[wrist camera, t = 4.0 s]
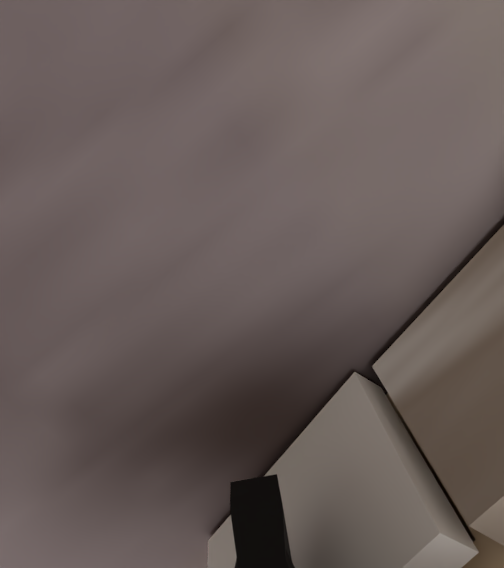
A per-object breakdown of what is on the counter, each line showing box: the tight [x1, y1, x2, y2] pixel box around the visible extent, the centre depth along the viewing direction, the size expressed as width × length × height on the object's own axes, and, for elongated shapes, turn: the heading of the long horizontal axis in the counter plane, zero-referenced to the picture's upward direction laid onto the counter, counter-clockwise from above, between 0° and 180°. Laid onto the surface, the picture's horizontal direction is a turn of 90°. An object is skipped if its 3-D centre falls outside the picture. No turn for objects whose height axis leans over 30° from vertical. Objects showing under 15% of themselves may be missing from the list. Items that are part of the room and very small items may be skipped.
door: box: [207, 372, 479, 568], centre depth 11 cm, size 1×8×5 cm, turn 145°
